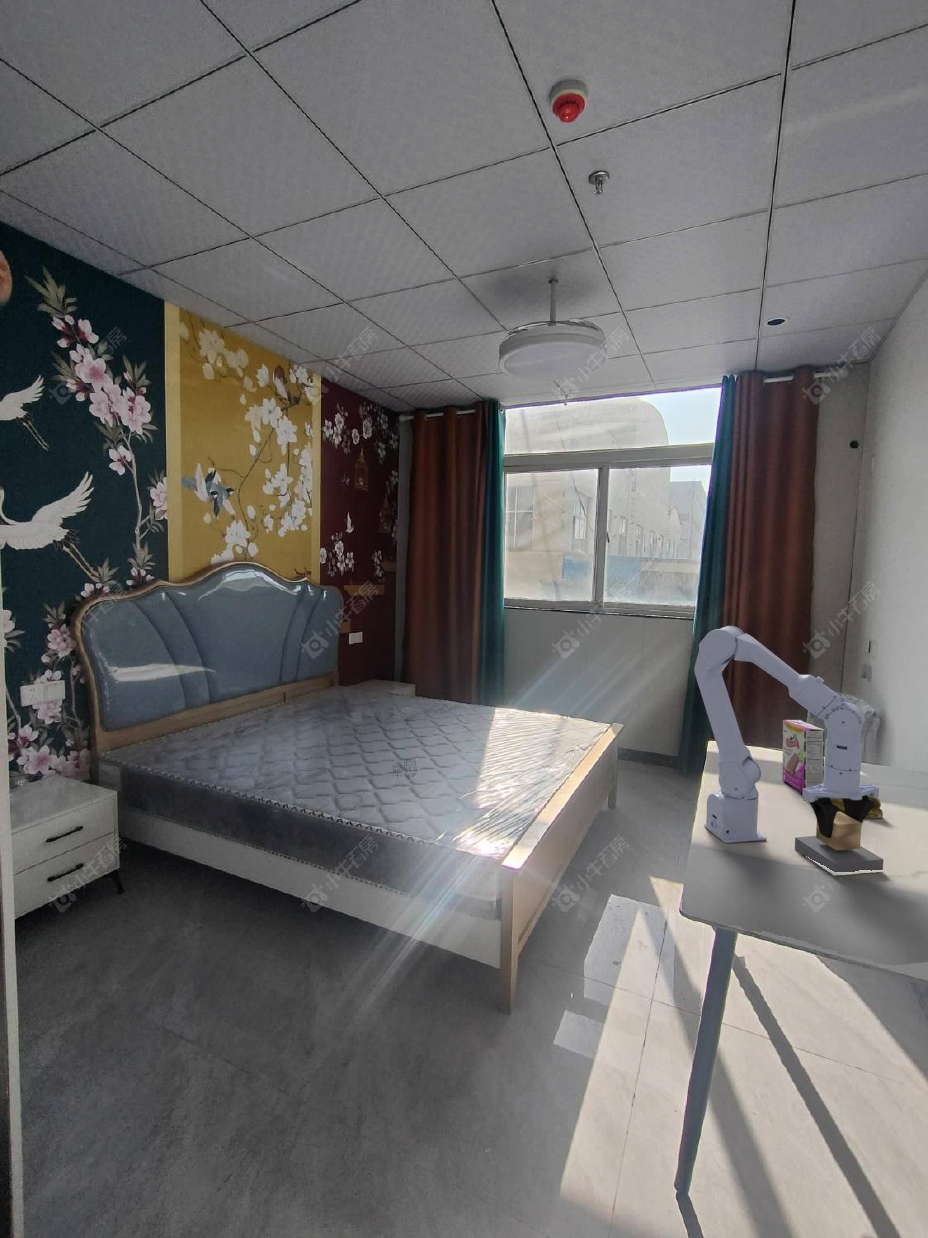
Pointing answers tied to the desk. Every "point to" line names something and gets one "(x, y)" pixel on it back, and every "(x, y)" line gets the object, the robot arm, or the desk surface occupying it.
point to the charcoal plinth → (838, 856)
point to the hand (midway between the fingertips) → (838, 834)
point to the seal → (874, 813)
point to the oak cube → (842, 833)
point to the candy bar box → (802, 754)
